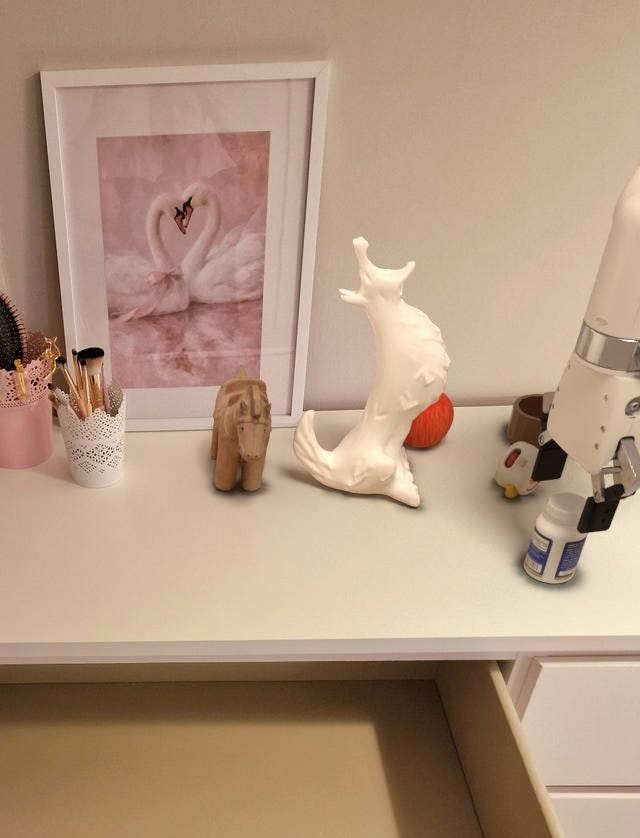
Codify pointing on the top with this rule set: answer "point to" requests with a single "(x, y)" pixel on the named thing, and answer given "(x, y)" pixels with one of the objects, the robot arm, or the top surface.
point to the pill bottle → (556, 540)
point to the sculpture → (382, 391)
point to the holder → (526, 420)
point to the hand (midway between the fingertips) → (567, 504)
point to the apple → (431, 423)
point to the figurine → (240, 431)
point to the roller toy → (517, 469)
